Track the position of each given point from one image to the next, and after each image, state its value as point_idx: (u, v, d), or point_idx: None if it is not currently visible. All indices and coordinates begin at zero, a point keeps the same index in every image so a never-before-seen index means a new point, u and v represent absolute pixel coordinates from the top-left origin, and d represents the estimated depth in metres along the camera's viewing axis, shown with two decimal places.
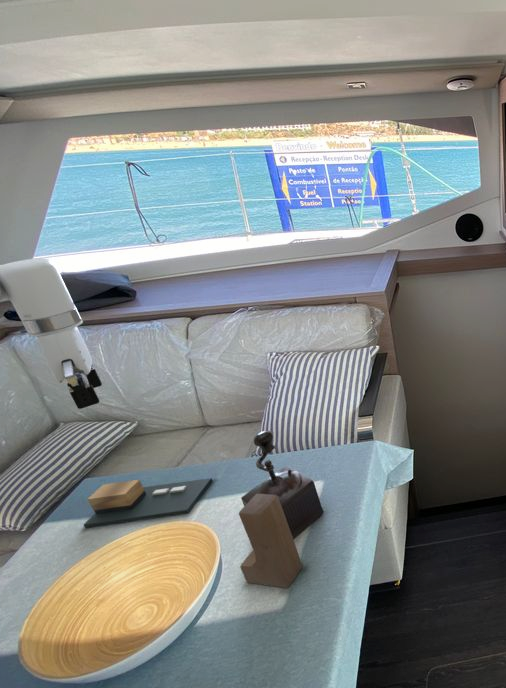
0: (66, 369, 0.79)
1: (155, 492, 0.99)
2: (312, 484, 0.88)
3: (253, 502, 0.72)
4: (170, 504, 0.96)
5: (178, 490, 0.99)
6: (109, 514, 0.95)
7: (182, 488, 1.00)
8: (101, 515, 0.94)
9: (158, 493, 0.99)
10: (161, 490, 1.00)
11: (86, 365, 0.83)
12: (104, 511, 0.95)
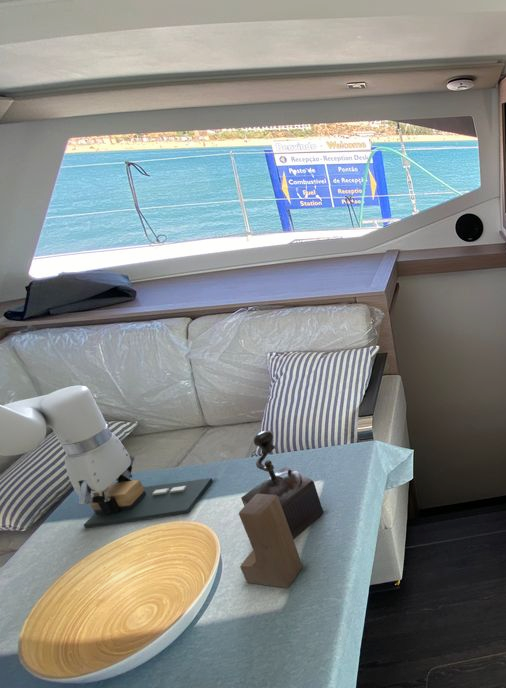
0: (81, 493, 0.88)
1: (155, 492, 0.99)
2: (312, 484, 0.88)
3: (253, 502, 0.72)
4: (170, 504, 0.96)
5: (178, 490, 0.99)
6: (109, 514, 0.95)
7: (182, 488, 1.00)
8: (101, 515, 0.94)
9: (158, 493, 0.99)
10: (161, 490, 1.00)
11: (100, 484, 0.90)
12: None
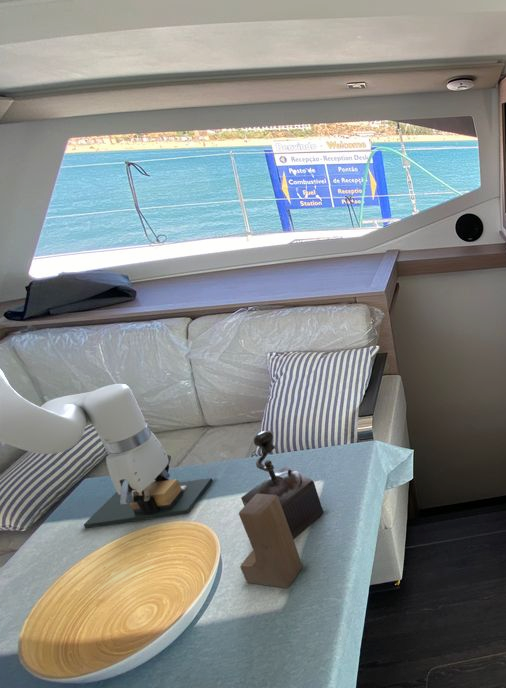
0: (122, 493, 0.88)
1: None
2: (312, 484, 0.88)
3: (253, 502, 0.72)
4: None
5: None
6: (109, 514, 0.95)
7: (182, 488, 1.00)
8: (101, 515, 0.94)
9: None
10: None
11: (140, 484, 0.90)
12: None
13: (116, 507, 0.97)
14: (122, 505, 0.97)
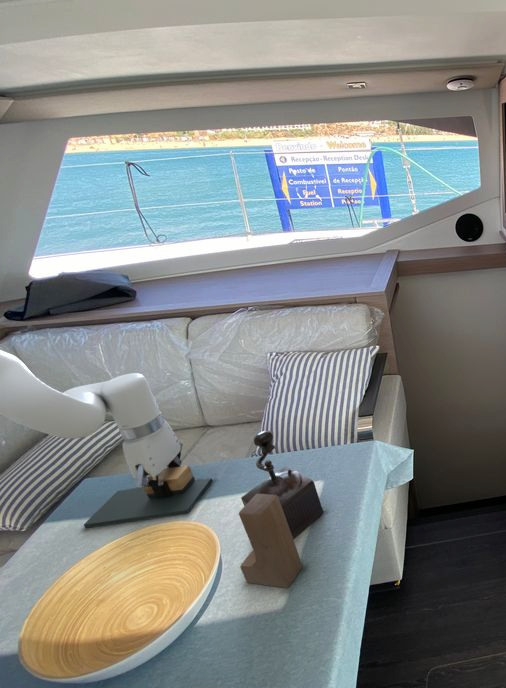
0: (138, 477, 0.92)
1: None
2: (312, 484, 0.88)
3: (253, 502, 0.72)
4: (170, 504, 0.96)
5: None
6: (109, 514, 0.95)
7: None
8: (101, 515, 0.94)
9: None
10: None
11: (155, 469, 0.94)
12: None
13: (116, 507, 0.97)
14: (122, 505, 0.97)
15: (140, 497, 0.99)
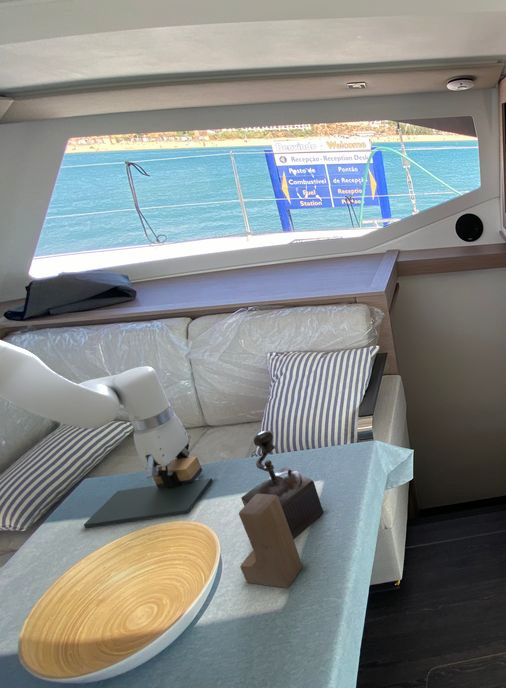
0: (148, 467, 0.95)
1: None
2: (312, 484, 0.88)
3: (253, 502, 0.72)
4: (170, 504, 0.96)
5: None
6: (109, 514, 0.95)
7: None
8: (101, 515, 0.94)
9: None
10: None
11: (164, 459, 0.97)
12: None
13: (116, 507, 0.97)
14: (122, 505, 0.97)
15: (140, 497, 0.99)
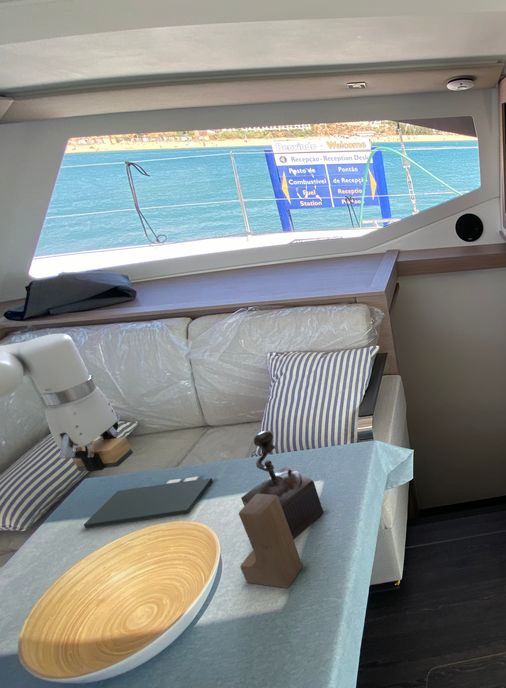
0: (63, 446, 0.84)
1: None
2: (312, 484, 0.88)
3: (253, 502, 0.72)
4: (170, 504, 0.96)
5: None
6: (109, 514, 0.95)
7: None
8: (101, 515, 0.94)
9: None
10: None
11: (82, 438, 0.86)
12: None
13: (116, 507, 0.97)
14: (122, 505, 0.97)
15: (140, 497, 0.99)
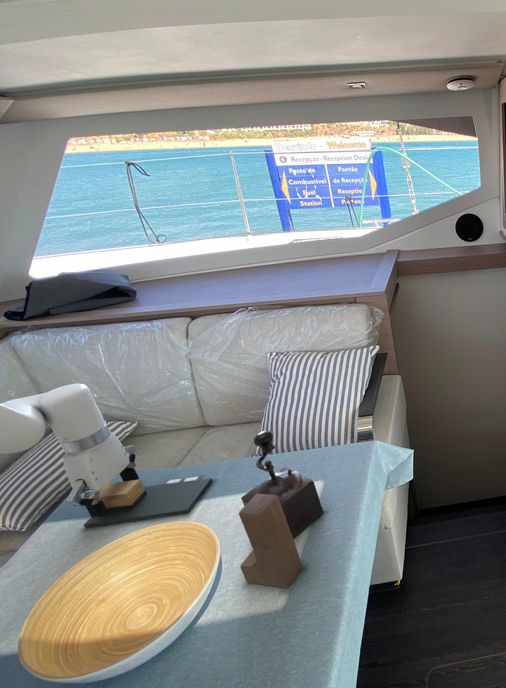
0: (73, 490, 0.87)
1: None
2: (312, 484, 0.88)
3: (253, 502, 0.72)
4: (170, 504, 0.96)
5: None
6: (109, 514, 0.95)
7: None
8: None
9: None
10: None
11: (98, 483, 0.90)
12: None
13: None
14: None
15: None
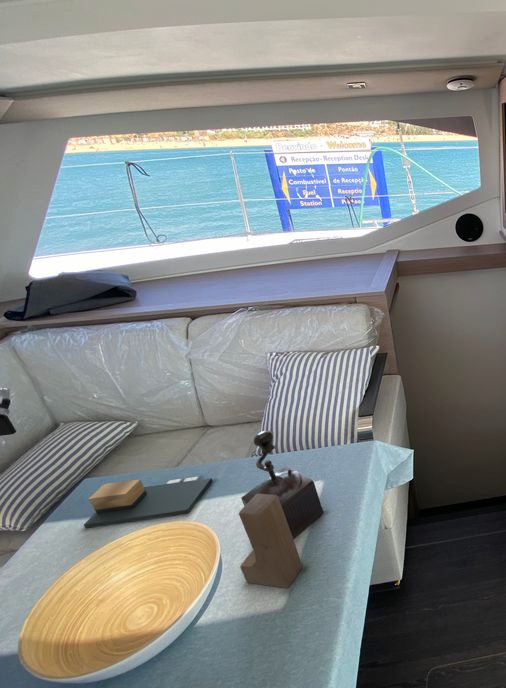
0: None
1: None
2: (312, 484, 0.88)
3: (253, 502, 0.72)
4: (170, 504, 0.96)
5: None
6: (109, 514, 0.95)
7: None
8: (101, 515, 0.94)
9: None
10: None
11: None
12: (105, 511, 0.95)
13: None
14: None
15: None
